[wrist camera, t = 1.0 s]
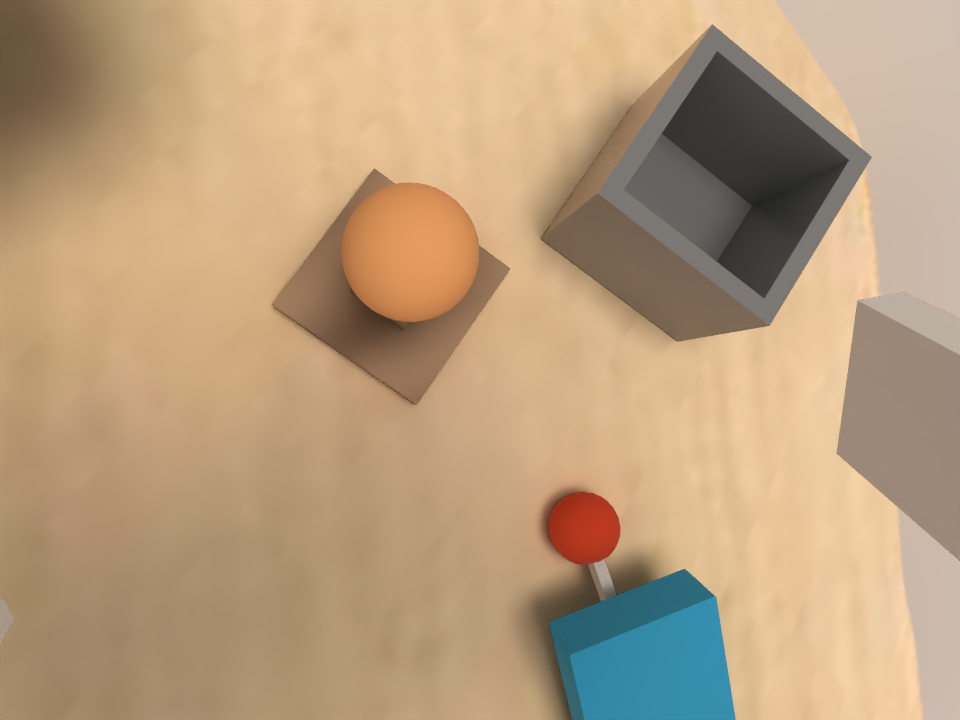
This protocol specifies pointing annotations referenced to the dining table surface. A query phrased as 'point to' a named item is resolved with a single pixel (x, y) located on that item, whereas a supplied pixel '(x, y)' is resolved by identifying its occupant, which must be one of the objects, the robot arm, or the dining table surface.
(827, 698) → the dining table surface
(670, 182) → the square storage bin
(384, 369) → the tee
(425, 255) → the ball
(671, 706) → the lever
